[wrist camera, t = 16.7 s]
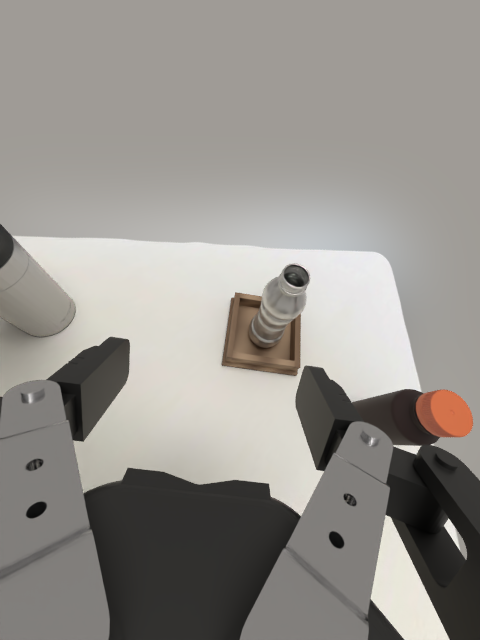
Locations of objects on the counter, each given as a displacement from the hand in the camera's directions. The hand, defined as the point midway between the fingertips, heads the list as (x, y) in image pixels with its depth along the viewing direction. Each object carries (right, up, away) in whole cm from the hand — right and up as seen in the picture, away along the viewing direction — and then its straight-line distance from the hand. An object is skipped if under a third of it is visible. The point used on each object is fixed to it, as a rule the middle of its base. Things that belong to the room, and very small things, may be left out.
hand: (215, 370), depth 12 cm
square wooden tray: (+5, -1, +39) cm, 39 cm away
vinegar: (+22, -16, +34) cm, 44 cm away
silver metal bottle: (+6, -1, +38) cm, 39 cm away
